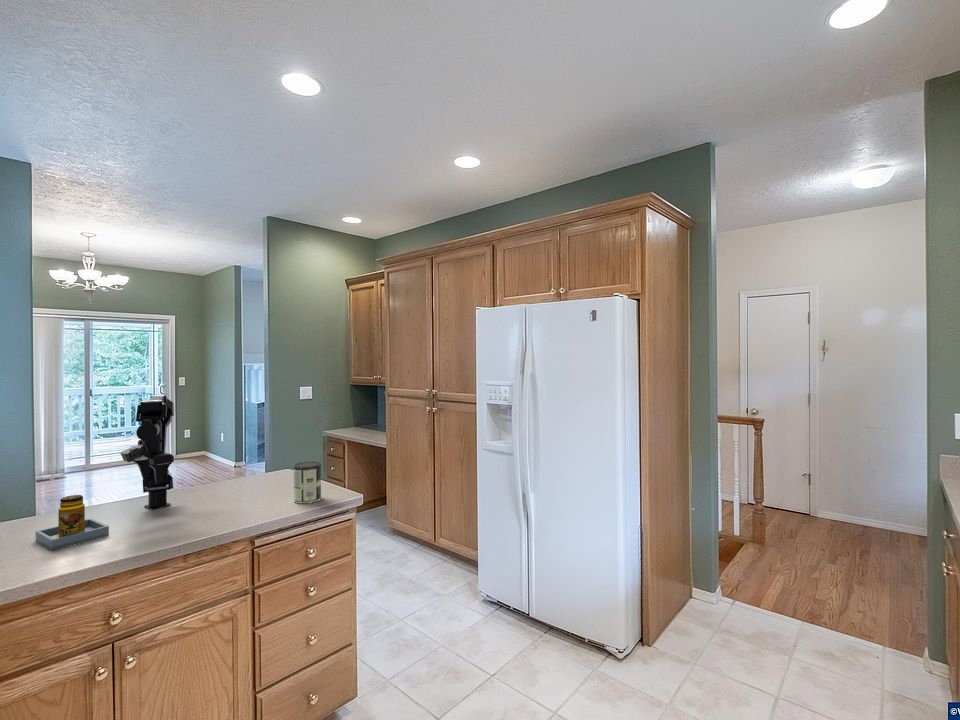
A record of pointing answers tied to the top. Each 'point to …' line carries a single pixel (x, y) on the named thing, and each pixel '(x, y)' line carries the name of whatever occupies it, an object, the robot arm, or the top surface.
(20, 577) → the top surface
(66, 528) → the condiment
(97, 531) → the bin
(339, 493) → the top surface
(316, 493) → the coffee can
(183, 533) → the top surface
